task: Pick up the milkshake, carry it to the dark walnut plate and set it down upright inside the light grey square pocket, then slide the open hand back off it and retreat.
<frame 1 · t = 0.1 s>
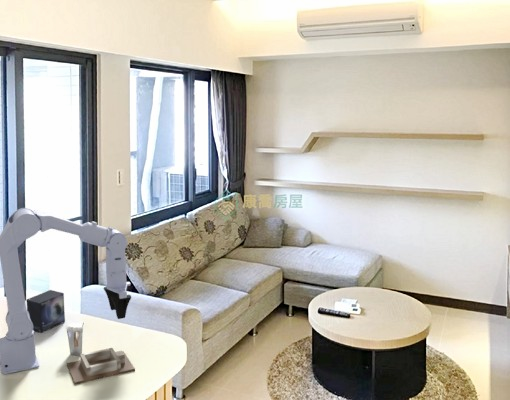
hand: (117, 313, 165), 10 cm above the table, tool pointing down, fingers open, 7 cm apart
milkshake: (77, 354, 161), on the table
small box: (47, 326, 180), on the table
pocket plate: (100, 367, 152), on the table
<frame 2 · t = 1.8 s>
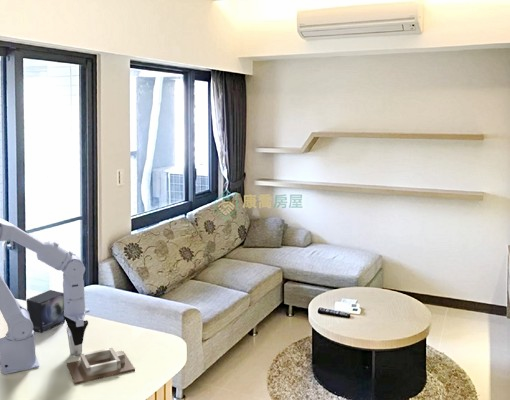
hand: (76, 341, 160), 4 cm above the table, tool pointing down, fingers closed on milkshake, 4 cm apart
milkshake: (77, 353, 161), on the table, touching gripper
everything else where it was.
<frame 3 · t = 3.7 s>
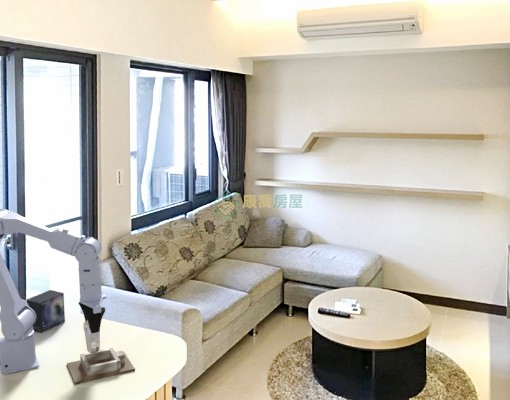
hand: (93, 329, 153), 10 cm above the table, tool pointing down, fingers closed on milkshake, 4 cm apart
milkshake: (94, 351, 154), point 4 cm above the table, touching gripper
everything else where it was.
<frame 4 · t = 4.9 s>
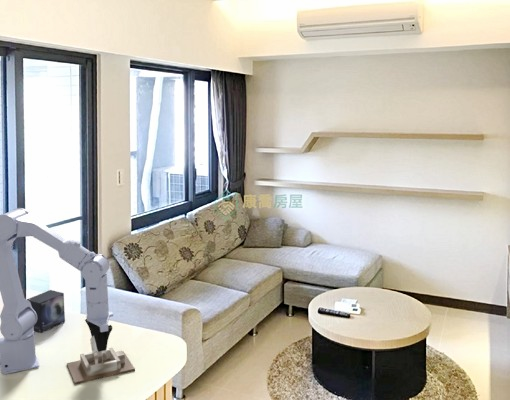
hand: (99, 346, 151), 6 cm above the table, tool pointing down, fingers closed on milkshake, 4 cm apart
milkshake: (101, 366, 152), touching gripper, pocket plate
everything else where it was.
when the fingers open (5 cm above the table, at t = 5.7 s): milkshake stays where it is, resting on pocket plate.
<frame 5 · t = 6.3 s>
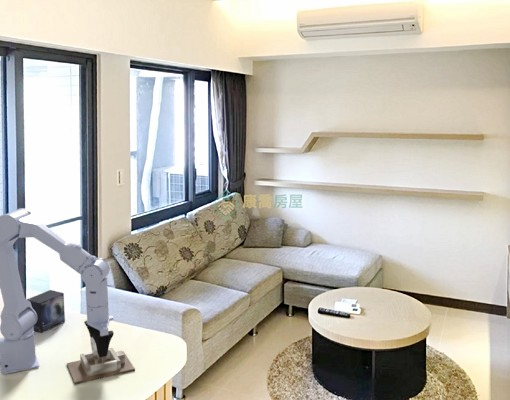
hand: (99, 350, 152), 5 cm above the table, tool pointing down, fingers open, 7 cm apart
milkshake: (101, 366, 152), resting on pocket plate
everything else where it was.
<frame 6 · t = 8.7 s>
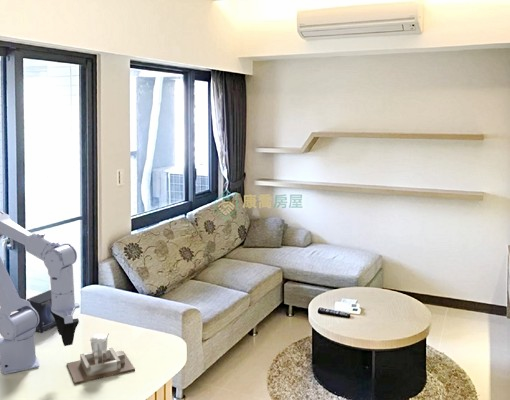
hand: (65, 339, 146), 10 cm above the table, tool pointing down, fingers open, 7 cm apart
nothing on the table moved.
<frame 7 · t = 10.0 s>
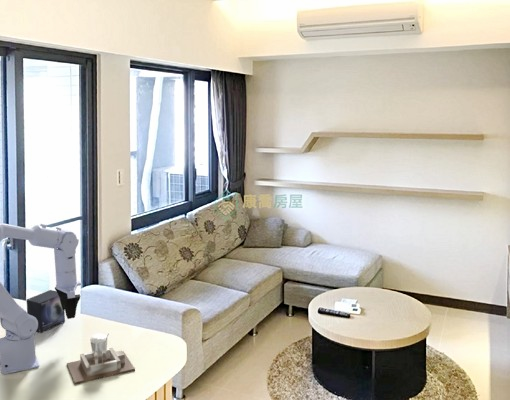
hand: (68, 313, 164), 10 cm above the table, tool pointing down, fingers open, 7 cm apart
nothing on the table moved.
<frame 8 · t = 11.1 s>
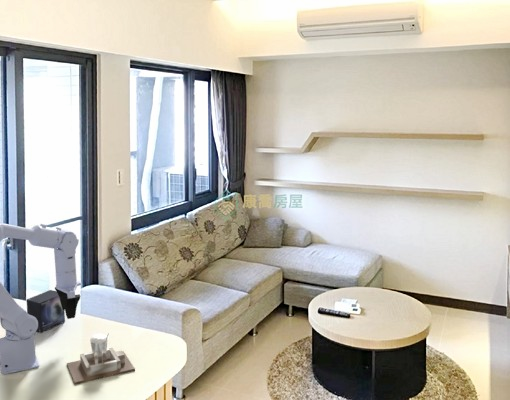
hand: (68, 313, 164), 10 cm above the table, tool pointing down, fingers open, 7 cm apart
nothing on the table moved.
at the end: milkshake 0.4 cm off-centre on the pocket plate, point 0.4 cm above the pocket plate's base; milkshake tilted 0°; the gripper is holding nothing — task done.
